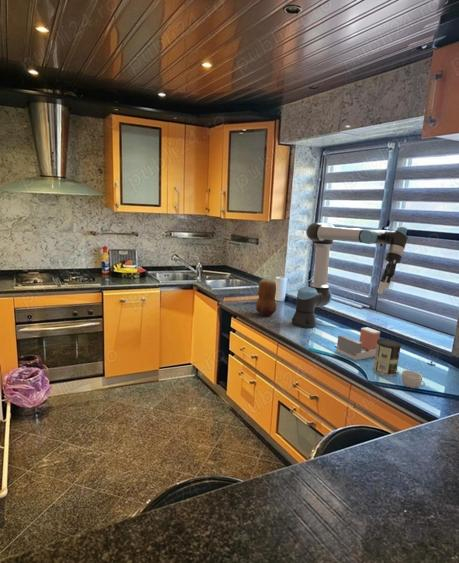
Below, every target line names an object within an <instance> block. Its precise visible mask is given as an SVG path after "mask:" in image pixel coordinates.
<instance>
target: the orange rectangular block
mask: <svg viewBox="0 0 459 563" xmlns="http://www.w3.org/2000/svg"><path fill="white" fill-rule="evenodd" d="M380 334H381V331H380V330H376V329H374V328H371V327H367V326H366V327H361V328H360V335H359V340H358V341H359V342H361V343H362V347H363V348H365V349H368V350H371V349H376V346H377V340H378V339H380Z"/></svg>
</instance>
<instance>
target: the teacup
mask: <svg viewBox="0 0 459 563" xmlns="http://www.w3.org/2000/svg"><path fill="white" fill-rule="evenodd" d="M422 379H423V375H422V374H421V373H419V372H417V371H413V370H408V369H406V370H402V372H401V382H402V384H403V385H404V386H405V387H406V386H407V387H406V388H409V387H410V388H409V389H417V388H423V387H425V386H426V383H425V381H424V380H422ZM422 384H423V385H422Z"/></svg>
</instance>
